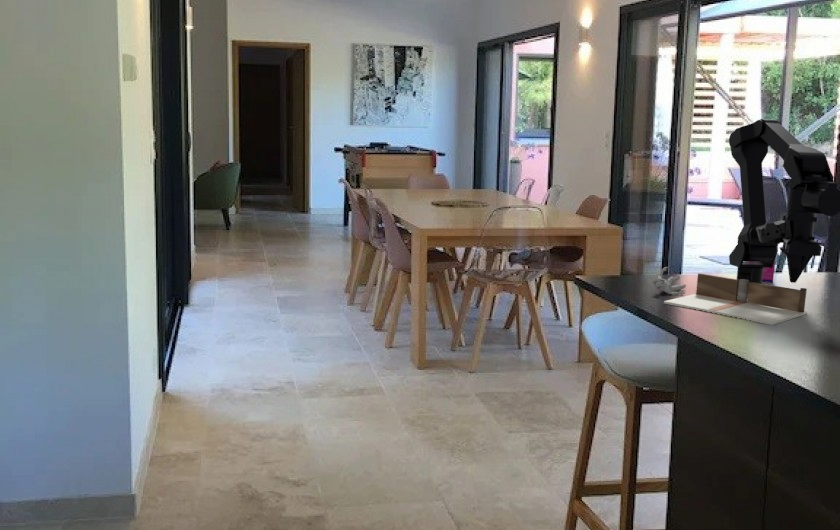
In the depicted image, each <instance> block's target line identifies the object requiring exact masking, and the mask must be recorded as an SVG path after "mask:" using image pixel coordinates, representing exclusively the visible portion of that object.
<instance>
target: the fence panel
mask: <svg viewBox="0 0 840 530" xmlns="http://www.w3.org/2000/svg"><path fill="white" fill-rule="evenodd" d="M748 285H749V286H748V295H747V303H753V304H758V305H764V306H769V307H774V308H780V309H785V310H791V311H796V312H800V313H804V311H805V308H806V299H807V298H806V297H807V290H808V288H806V287H805V288H804V287H801V288H800V289H798V288H796V289H795V288H790V287H784V286H778V285H772V284H767V283H762V284H761V283H755V282H749V284H748Z"/></svg>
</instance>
